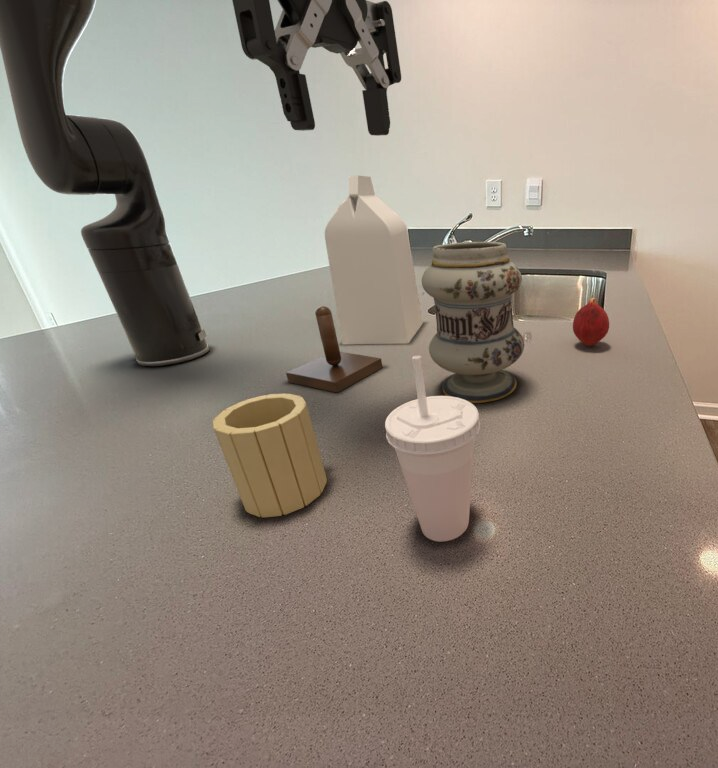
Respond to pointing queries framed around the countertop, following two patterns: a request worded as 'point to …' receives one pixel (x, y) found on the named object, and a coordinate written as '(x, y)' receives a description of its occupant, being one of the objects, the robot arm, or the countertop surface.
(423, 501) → the smoothie
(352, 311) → the milk
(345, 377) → the stand
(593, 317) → the onion
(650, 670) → the countertop surface
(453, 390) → the apothecary jar
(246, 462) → the wooden slatted cup
